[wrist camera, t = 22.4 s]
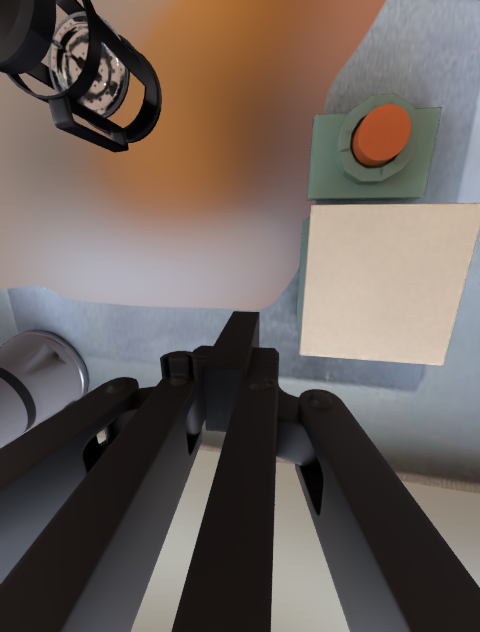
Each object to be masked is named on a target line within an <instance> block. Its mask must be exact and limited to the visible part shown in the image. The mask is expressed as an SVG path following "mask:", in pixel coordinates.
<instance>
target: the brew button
mask: <svg viewBox="0 0 480 632" xmlns="http://www.w3.org/2000/svg"><path fill="white" fill-rule="evenodd" d="M410 132H411V122H410V118H409V116H408V114H407V112H406V111H405V110H404V109H403V108H401V107H400V106H397V105H393V104H386V105H382V106H379V107H377V108H375V109H374V110H372V111H371V112H370V113H369V114H368V115H367V116H366V117H365V119H364V120H363V122H362V123H361V124H360V126H359V127H358V129H357V131H356V133H355V135H354V138H353V151H354V154H355V156H356V158H357V159H358V160H359V161H360V162H361V163H363V164H365V165H368V166H377V165H380V164H383V163H385V162H386V161H388V160H389V159H391V158H392V157H394V156H395V155H397V154H398V153H399V152H400V151H401V150H402V149H403V148H404V147H405V145H406V143H407V141H408V139H409V136H410Z"/></svg>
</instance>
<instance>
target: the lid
mask: <svg viewBox="0 0 480 632" xmlns="http://www.w3.org/2000/svg"><path fill="white" fill-rule="evenodd" d="M479 228H480V203H436V204H341V205H311V211H310V223H309V236H308V249H307V262H306V274H305V287H304V300H303V313H302V326H301V338H300V355H309V356H322V357H336V358H349V359H363V360H376V361H390V362H403V363H417V364H430V365H443V364H444V360H445V356H446V352H447V349H448V345H449V341H450V337H451V334H452V330H453V326H454V322H455V318H456V315H457V311H458V307H459V303H460V300H461V296H462V292H463V288H464V285H465V281H466V277H467V273H468V270H469V266H470V262H471V258H472V255H473V251H474V247H475V243H476V239H477V236H478V232H479Z"/></svg>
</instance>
